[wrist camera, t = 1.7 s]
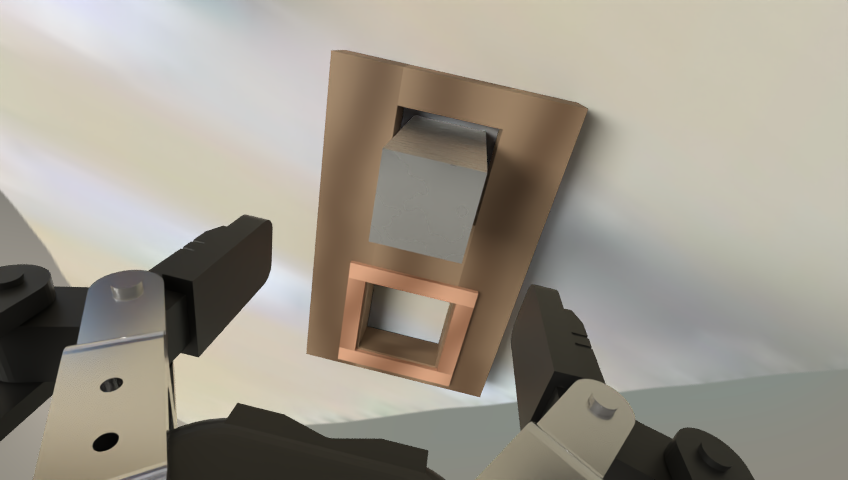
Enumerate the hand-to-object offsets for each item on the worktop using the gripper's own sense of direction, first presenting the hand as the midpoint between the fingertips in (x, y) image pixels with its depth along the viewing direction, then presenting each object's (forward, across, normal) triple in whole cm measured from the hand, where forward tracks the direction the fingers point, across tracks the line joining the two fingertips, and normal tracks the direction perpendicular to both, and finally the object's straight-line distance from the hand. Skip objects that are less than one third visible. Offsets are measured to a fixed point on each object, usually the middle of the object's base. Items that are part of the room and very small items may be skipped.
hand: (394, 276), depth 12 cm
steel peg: (+15, 0, 0) cm, 15 cm away
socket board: (+15, 0, +6) cm, 16 cm away
